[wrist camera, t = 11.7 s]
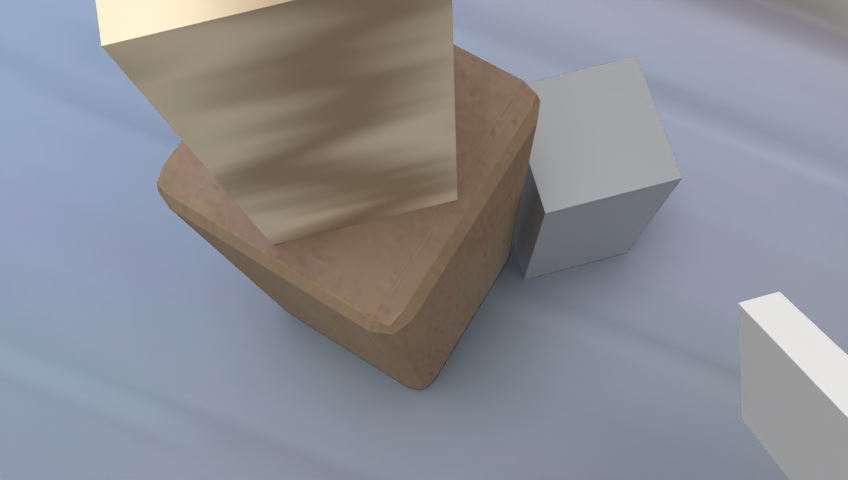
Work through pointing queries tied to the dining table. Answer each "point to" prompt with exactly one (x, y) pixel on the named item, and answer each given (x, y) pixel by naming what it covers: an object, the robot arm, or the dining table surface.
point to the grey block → (592, 168)
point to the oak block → (301, 101)
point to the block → (390, 238)
